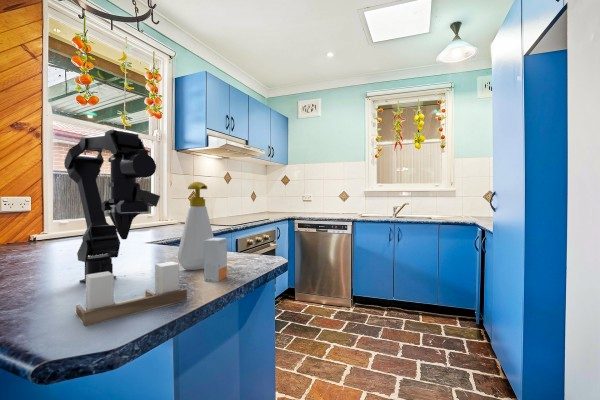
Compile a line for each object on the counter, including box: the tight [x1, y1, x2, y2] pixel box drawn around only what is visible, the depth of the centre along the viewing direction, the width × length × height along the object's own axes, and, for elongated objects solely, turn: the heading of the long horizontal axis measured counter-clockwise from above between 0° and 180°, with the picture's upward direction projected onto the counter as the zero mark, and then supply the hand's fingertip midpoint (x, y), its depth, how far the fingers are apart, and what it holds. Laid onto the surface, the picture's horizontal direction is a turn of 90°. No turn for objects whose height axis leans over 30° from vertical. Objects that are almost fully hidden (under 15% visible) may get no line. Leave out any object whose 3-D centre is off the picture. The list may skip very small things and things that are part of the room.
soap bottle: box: [177, 181, 215, 271], centre depth 97 cm, size 13×10×29 cm
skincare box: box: [203, 237, 228, 283], centre depth 85 cm, size 6×4×12 cm
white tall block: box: [85, 271, 115, 311], centre depth 58 cm, size 4×4×8 cm
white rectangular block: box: [154, 261, 180, 295], centre depth 67 cm, size 4×4×8 cm
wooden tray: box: [74, 288, 188, 327], centre depth 64 cm, size 10×19×3 cm, turn 136°
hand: (124, 239), depth 77 cm, fingers closed
